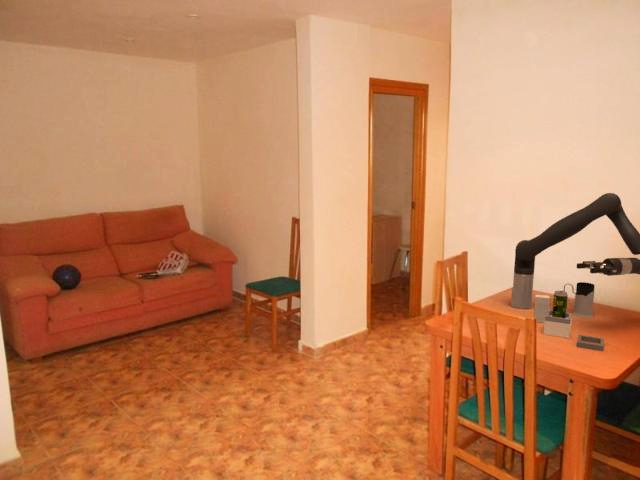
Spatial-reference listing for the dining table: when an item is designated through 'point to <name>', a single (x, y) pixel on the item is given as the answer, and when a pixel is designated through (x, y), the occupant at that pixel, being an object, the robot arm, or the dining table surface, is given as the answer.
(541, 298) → the skincare box
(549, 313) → the riser
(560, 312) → the beer can
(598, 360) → the dining table surface
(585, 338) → the table dock
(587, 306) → the grey container
